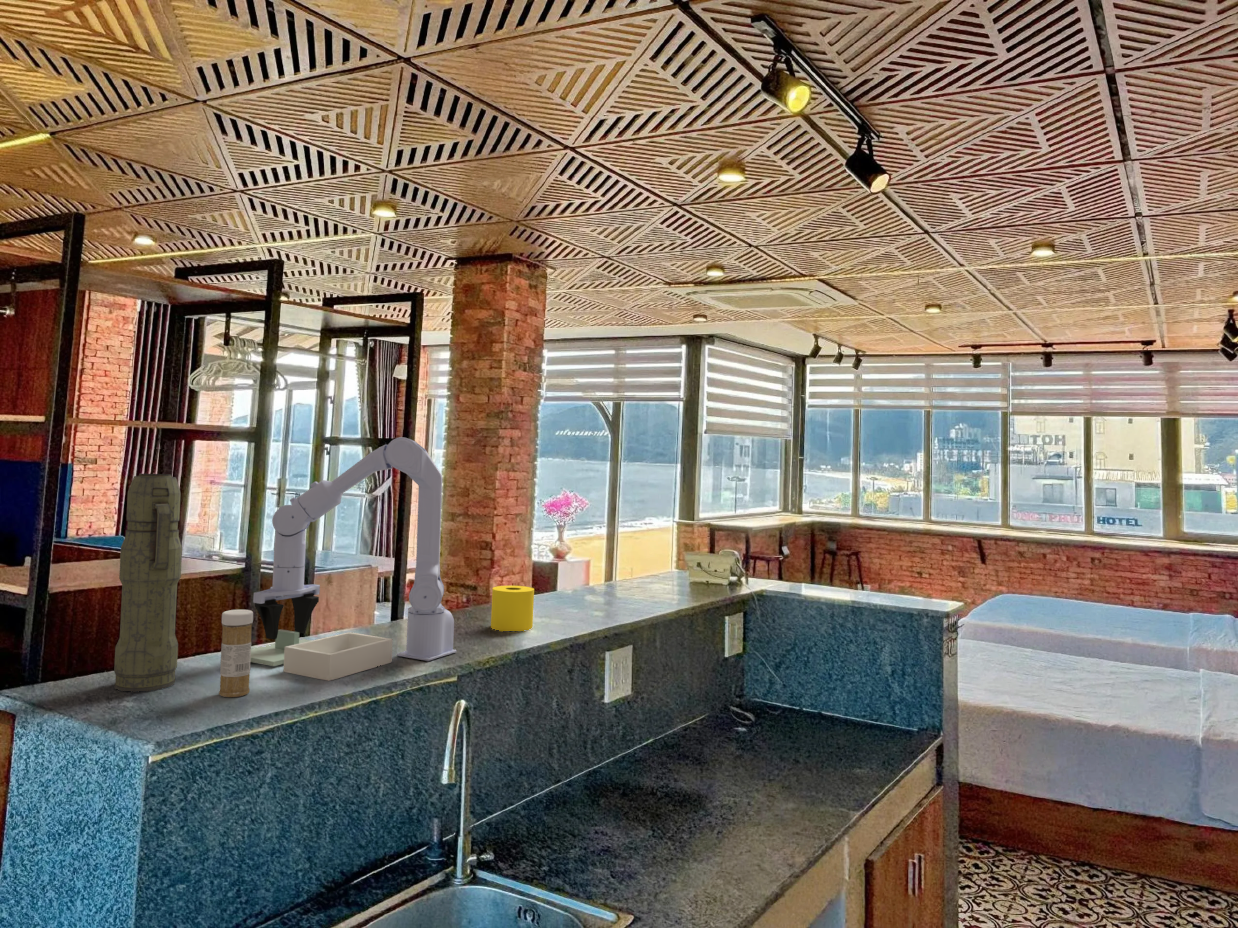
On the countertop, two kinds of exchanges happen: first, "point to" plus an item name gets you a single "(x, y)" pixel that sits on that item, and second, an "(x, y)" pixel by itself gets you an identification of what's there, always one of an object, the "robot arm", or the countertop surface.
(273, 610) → the robot arm
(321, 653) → the tub
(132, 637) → the thermos
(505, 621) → the yellow paper roll
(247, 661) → the sprinkles bottle
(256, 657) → the lid
